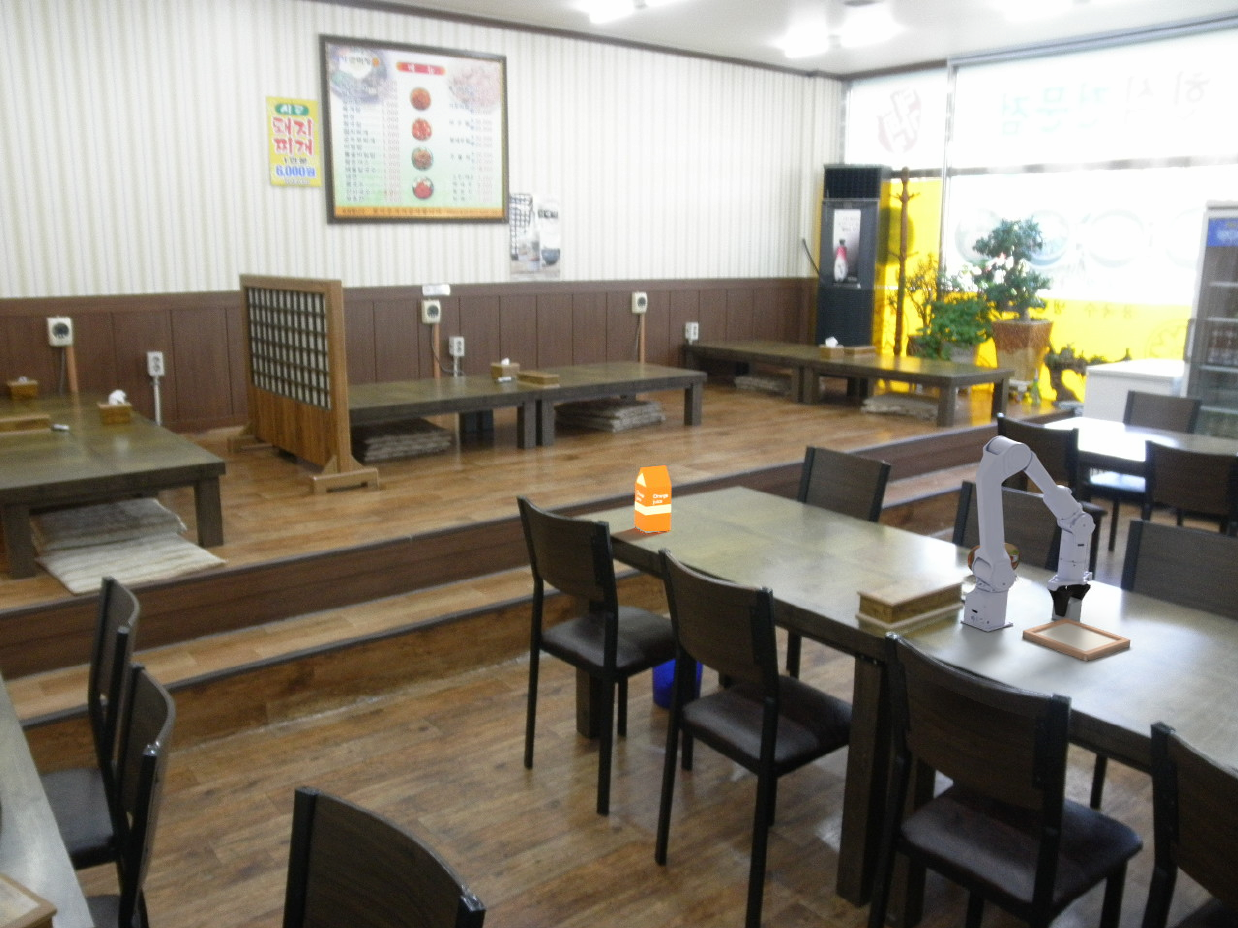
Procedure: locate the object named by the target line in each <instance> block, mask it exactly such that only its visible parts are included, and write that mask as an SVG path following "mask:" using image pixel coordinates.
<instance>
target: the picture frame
mask: <svg viewBox="0 0 1238 928" xmlns="http://www.w3.org/2000/svg"><path fill="white" fill-rule="evenodd" d="M1022 638H1023V639H1026V640H1028V641H1030V642H1034V643H1037V644H1039V645H1042V646H1045V647H1046V648H1049V649H1052V650H1055V649H1056V650H1055V651H1057V650H1058V652H1060V651H1061V652H1060V653H1063V654H1065V653H1066V654H1065V655H1068V656H1071V657H1073V656H1074V658H1076V659H1079V660H1082V661H1084V662H1088V660H1089V661H1091V660H1094V659H1098V658H1100V657H1103V656H1106V655H1109V654H1112V653H1115V652H1117V651H1120V650H1123V649H1128V648H1130V647H1131V639H1129V638H1127V637H1123V636H1121V635H1118V634H1115V633H1112V632H1109V631H1106V630H1103V629H1101V628H1098V627H1095V626H1091V625H1088V624H1085V623H1082V622H1080V621H1074V620H1071V619H1069V618H1064V619H1060V620H1055V621H1051V622H1047V623H1044V624H1041V625H1037V626H1035V627H1031V628H1028V629H1027V628H1026V629H1025V630H1022Z"/></svg>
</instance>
